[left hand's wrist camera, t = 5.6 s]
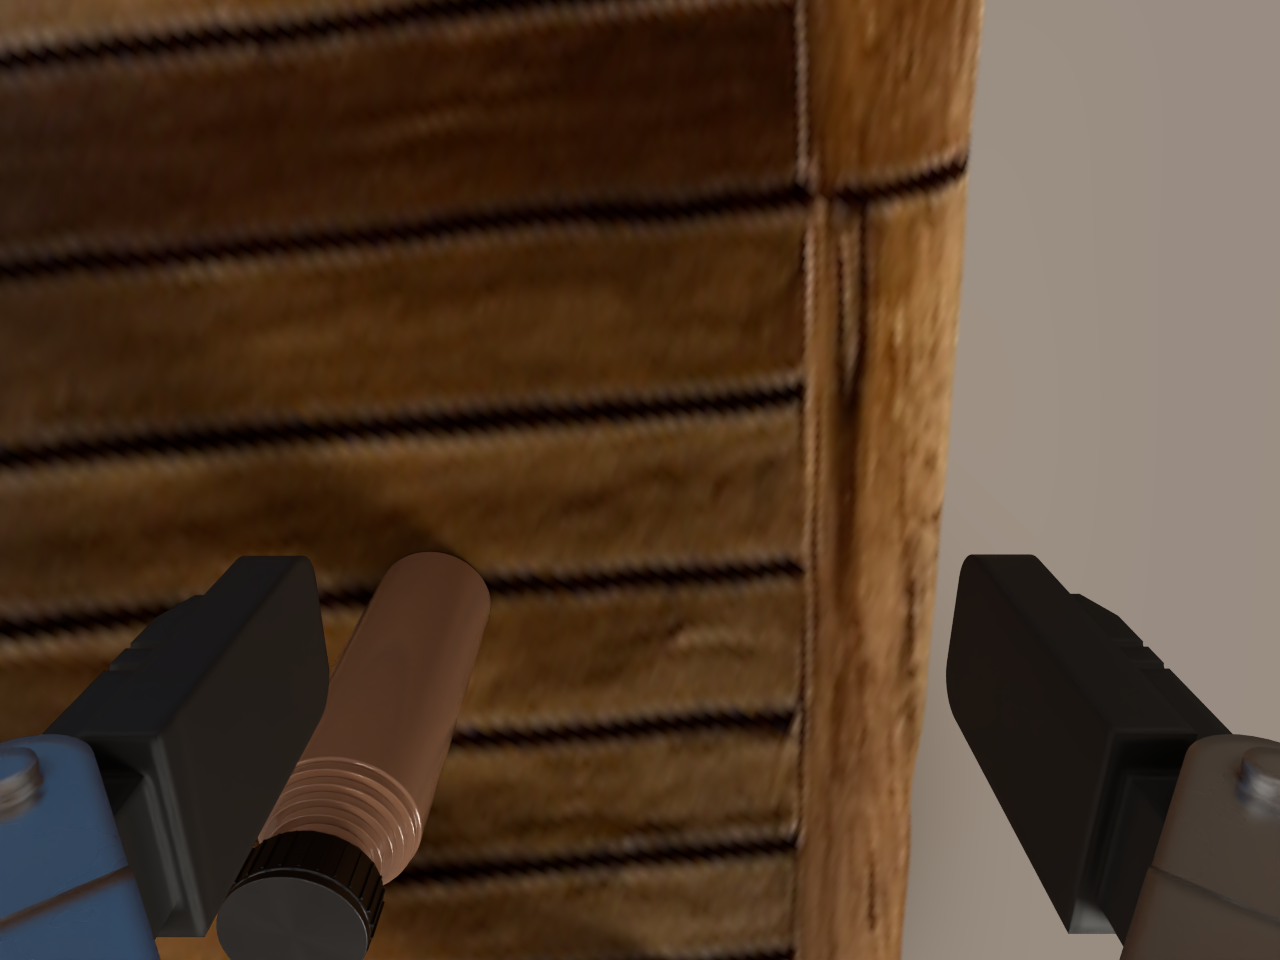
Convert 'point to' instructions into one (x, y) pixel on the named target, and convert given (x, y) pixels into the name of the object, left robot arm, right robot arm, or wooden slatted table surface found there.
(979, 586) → the left robot arm
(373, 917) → the cap
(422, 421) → the wooden slatted table surface
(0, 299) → the wooden slatted table surface
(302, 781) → the bottle
